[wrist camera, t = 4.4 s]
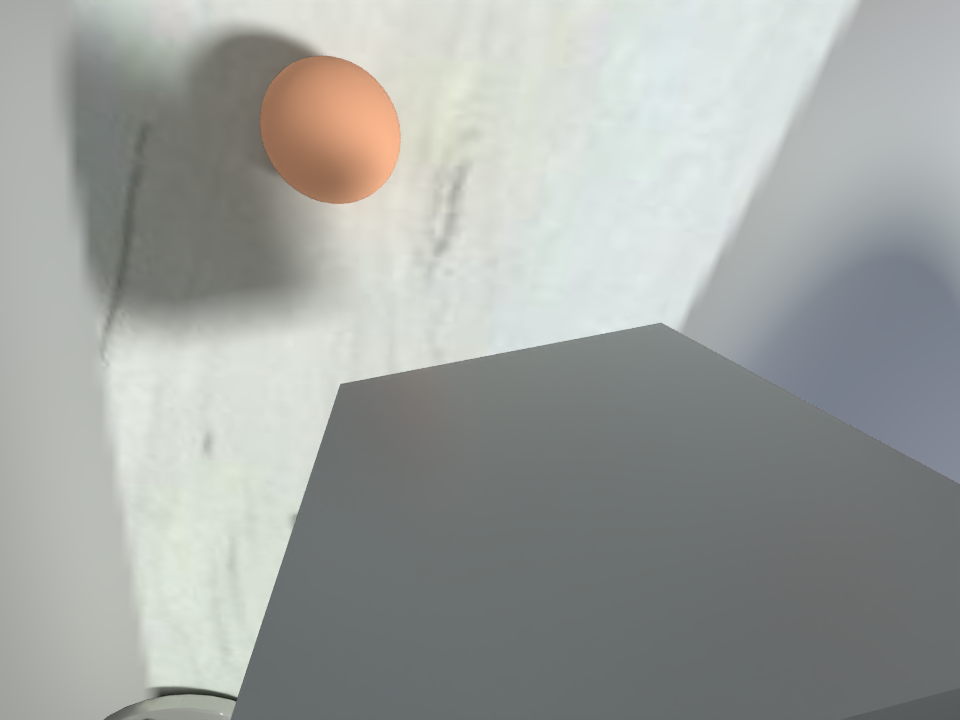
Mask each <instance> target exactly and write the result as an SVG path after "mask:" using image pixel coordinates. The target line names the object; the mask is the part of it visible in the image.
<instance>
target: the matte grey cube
mask: <svg viewBox="0 0 960 720" xmlns="http://www.w3.org/2000/svg"><path fill="white" fill-rule="evenodd" d="M230 720H960V484H958V483H956V482H955V481H953V480H951V479H949V478H947V477H945V476H944V475H942V474H940V473H938V472H936V471H934V470H932V469H931V468H929V467H927V466H925V465H923V464H921V463H920V462H918V461H916V460H914V459H912V458H910V457H908V456H907V455H905V454H903V453H901V452H899V451H897V450H896V449H894V448H892V447H890V446H888V445H886V444H884V443H882V442H881V441H879V440H877V439H875V438H873V437H871V436H869V435H868V434H866V433H864V432H862V431H860V430H859V429H857V428H855V427H853V426H851V425H849V424H847V423H846V422H844V421H842V420H840V419H838V418H836V417H834V416H832V415H831V414H829V413H827V412H825V411H823V410H821V409H820V408H818V407H816V406H814V405H812V404H810V403H809V402H807V401H805V400H803V399H801V398H799V397H797V396H795V395H794V394H792V393H790V392H788V391H786V390H785V389H783V388H781V387H779V386H777V385H775V384H773V383H772V382H770V381H768V380H766V379H764V378H762V377H760V376H758V375H757V374H755V373H753V372H751V371H749V370H748V369H746V368H744V367H742V366H740V365H738V364H736V363H734V362H733V361H731V360H729V359H727V358H725V357H723V356H722V355H720V354H718V353H716V352H714V351H712V350H710V349H709V348H707V347H705V346H703V345H701V344H699V343H698V342H696V341H694V340H692V339H690V338H688V337H686V336H685V335H683V334H681V333H679V332H677V331H675V330H674V329H672V328H670V327H668V326H666V325H664V324H662V323H658V324H653V325H647V326H642V327H637V328H632V329H626V330H621V331H616V332H611V333H606V334H600V335H595V336H590V337H585V338H579V339H574V340H569V341H564V342H558V343H553V344H548V345H543V346H537V347H532V348H527V349H522V350H517V351H511V352H506V353H501V354H496V355H490V356H485V357H480V358H475V359H469V360H464V361H459V362H454V363H449V364H443V365H438V366H433V367H428V368H422V369H417V370H412V371H407V372H401V373H396V374H391V375H386V376H381V377H375V378H370V379H365V380H360V381H354V382H349V383H344V384H340V387H339V390H338V393H337V396H336V399H335V402H334V405H333V408H332V411H331V414H330V418H329V421H328V424H327V427H326V430H325V433H324V436H323V439H322V442H321V445H320V448H319V451H318V454H317V457H316V460H315V463H314V466H313V469H312V472H311V475H310V478H309V481H308V485H307V488H306V491H305V494H304V497H303V500H302V503H301V506H300V509H299V512H298V515H297V518H296V521H295V524H294V527H293V530H292V533H291V536H290V539H289V542H288V545H287V549H286V552H285V555H284V558H283V561H282V564H281V567H280V570H279V573H278V576H277V579H276V582H275V585H274V588H273V591H272V594H271V597H270V600H269V603H268V606H267V609H266V613H265V616H264V619H263V622H262V625H261V628H260V631H259V634H258V637H257V640H256V643H255V646H254V649H253V652H252V655H251V658H250V661H249V664H248V667H247V670H246V673H245V676H244V680H243V683H242V686H241V689H240V692H239V695H238V698H237V701H236V704H235V707H234V710H233V713H232V716H231V719H230Z"/></svg>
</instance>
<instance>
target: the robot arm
mask: <svg viewBox="0 0 960 720" xmlns="http://www.w3.org/2000/svg"><path fill="white" fill-rule="evenodd" d="M235 704H236V701H233V700H230V699H225V698H220V697H215V696H209V695H194V694H185V695H169V696H163V697H158V698H153V699H148V700H144V701H142V702H139V703H136V704H133V705H130V706H127V707H125V708H123V709H121V710H119V711H117V712H115V713H113V714H112V715H110V716H108V717H107V718H105V719H104V720H230V719H231V716H232V713H233V710H234V707H235Z"/></svg>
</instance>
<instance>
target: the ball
mask: <svg viewBox="0 0 960 720" xmlns="http://www.w3.org/2000/svg"><path fill="white" fill-rule="evenodd" d="M260 129H261V136H262V141H263V144H264V147H265V150H266V153H267V155H268V157H269V159H270V161H271V163H272V164H273V166H274V167H275V169H276V170H277V172H278V173H279V174H280V175H281V177H282V178H283V179H284V180H285V181H286V182H287V183H288V184H289V185H291V186H292V187H293V188H294V189H296V190H297V191H299V192H300V193H302V194H304V195H305V196H308V197H310V198H312V199H315V200H318V201H321V202H326V203H332V204H344V203H351V202H356V201H359V200H361V199H364V198H366V197H368V196H370V195H371V194H373V193H374V192H376V191H377V190H378V189H379V188H380V187H381V186H382V185H383V184H384V183H385V182H386V181H387V179H388V178H389V177H390V175H391V173H392V171H393V170H394V168H395V165H396V162H397V159H398V155H399V151H400V126H399V121H398V117H397V113H396V111H395V108H394V106H393V104H392V102H391V100H390V98H389V96H388V95H387V93H386V92H385V90H384V89H383V87H382V86H381V85H380V84H379V83H378V81H377V80H376V79H375V78H374V77H372V76H371V75H370V74H369V73H368V72H367V71H365V70H364V69H362V68H361V67H359V66H357V65H356V64H354V63H352V62H349V61H347V60H344V59H341V58H336V57H330V56H313V57H308V58H304V59H301V60H298V61H296V62H294V63H292V64H290V65H289V66H287V67H286V68H285V69H283V70H282V71H281V72H280V73H279V74H278V75H277V76H276V77H275V78H274V79H273V81H272V82H271V84H270V85H269V87H268V89H267V91H266V93H265V96H264V99H263V102H262V106H261V113H260Z"/></svg>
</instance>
